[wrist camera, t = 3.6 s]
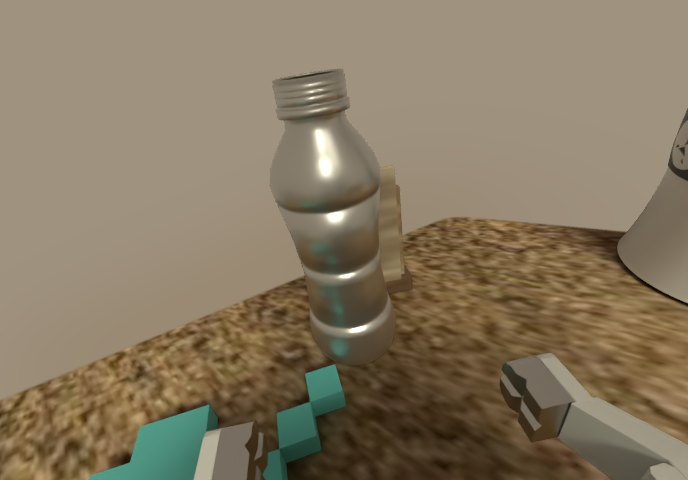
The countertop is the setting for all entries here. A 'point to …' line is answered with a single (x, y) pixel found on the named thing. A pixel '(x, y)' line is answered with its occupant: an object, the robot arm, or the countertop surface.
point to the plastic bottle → (333, 216)
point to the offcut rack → (391, 234)
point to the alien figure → (190, 427)
